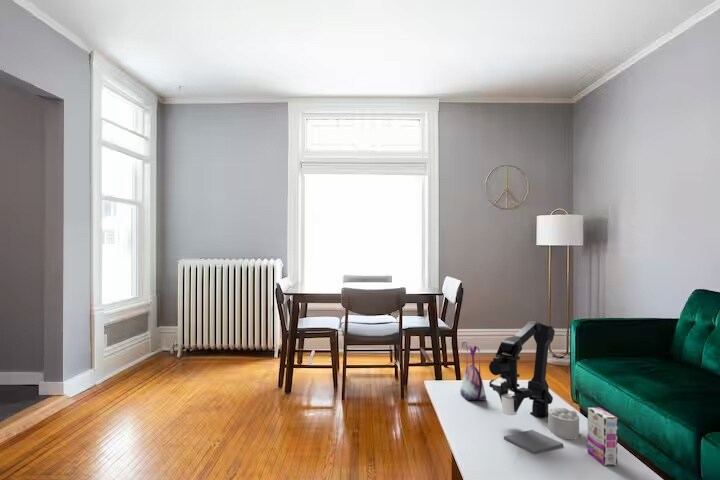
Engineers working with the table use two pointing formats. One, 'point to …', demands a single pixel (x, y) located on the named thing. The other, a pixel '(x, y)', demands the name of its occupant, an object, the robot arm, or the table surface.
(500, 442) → the table surface
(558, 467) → the table surface
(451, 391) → the table surface
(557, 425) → the lumpy-topped squat cylinder
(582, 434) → the table surface
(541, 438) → the charcoal mat
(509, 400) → the shot glass
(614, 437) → the candy bar box
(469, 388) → the handbag
